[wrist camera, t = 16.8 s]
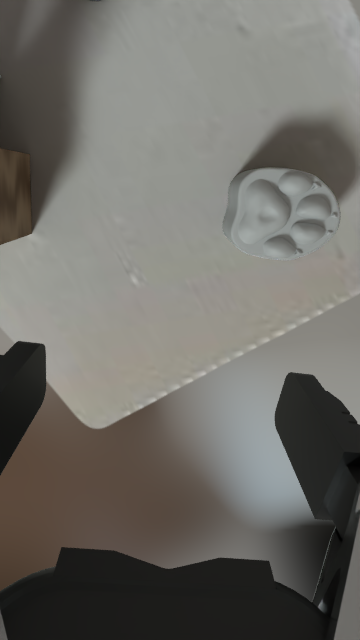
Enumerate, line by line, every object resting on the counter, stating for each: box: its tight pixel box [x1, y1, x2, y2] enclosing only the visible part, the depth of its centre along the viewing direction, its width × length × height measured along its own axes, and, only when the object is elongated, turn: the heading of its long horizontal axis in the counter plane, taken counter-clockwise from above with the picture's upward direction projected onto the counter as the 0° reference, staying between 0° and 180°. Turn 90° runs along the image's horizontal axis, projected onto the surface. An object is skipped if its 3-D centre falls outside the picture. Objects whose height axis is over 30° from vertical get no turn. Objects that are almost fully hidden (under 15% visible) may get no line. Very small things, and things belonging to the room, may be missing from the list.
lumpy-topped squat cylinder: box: [222, 167, 340, 260], centre depth 42 cm, size 10×13×9 cm
